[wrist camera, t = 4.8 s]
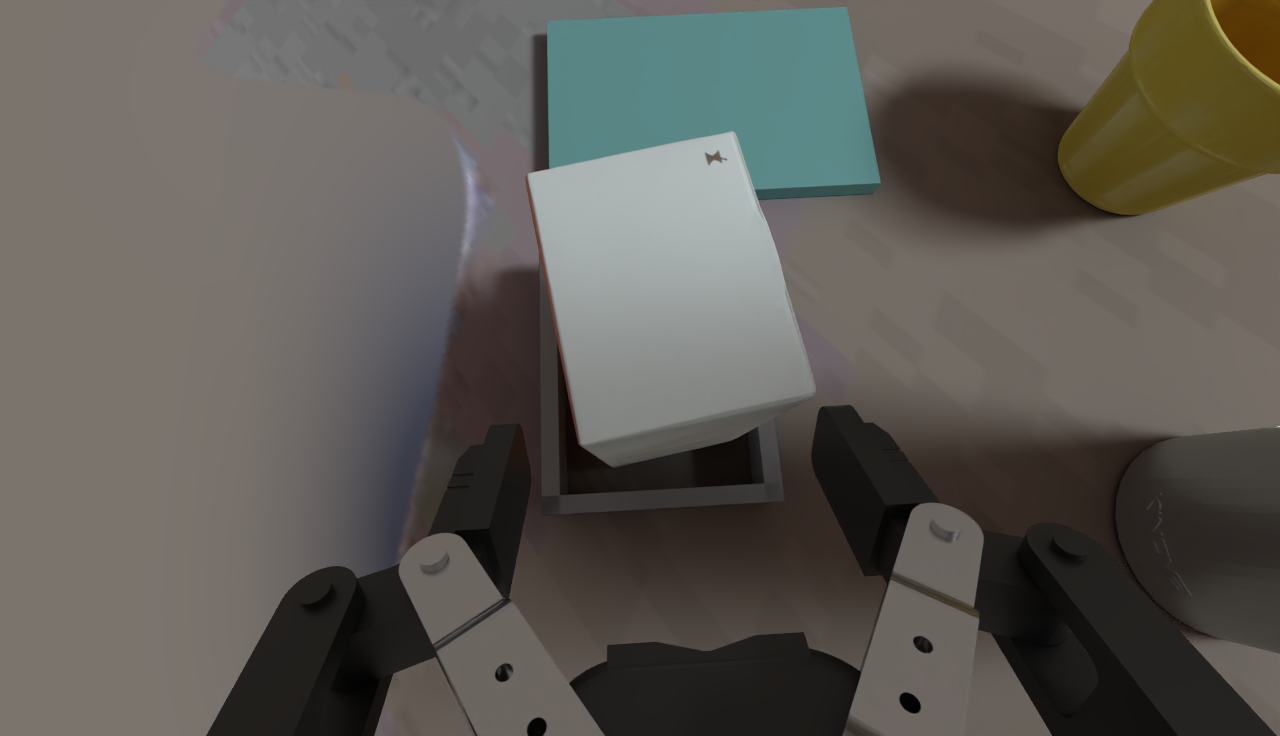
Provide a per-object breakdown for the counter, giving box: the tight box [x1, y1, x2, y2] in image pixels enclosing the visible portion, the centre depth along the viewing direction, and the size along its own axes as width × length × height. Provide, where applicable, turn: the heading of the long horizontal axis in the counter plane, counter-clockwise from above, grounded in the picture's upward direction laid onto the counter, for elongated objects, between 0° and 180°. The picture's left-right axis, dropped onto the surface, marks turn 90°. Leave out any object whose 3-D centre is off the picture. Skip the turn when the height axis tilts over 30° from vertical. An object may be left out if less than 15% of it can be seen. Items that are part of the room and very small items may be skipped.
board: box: [547, 7, 881, 200], centre depth 29 cm, size 18×12×1 cm, turn 93°
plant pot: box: [1058, 0, 1280, 215], centre depth 24 cm, size 10×10×10 cm
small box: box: [526, 131, 816, 468], centre depth 20 cm, size 8×6×13 cm
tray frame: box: [539, 254, 785, 515], centre depth 25 cm, size 11×13×2 cm
